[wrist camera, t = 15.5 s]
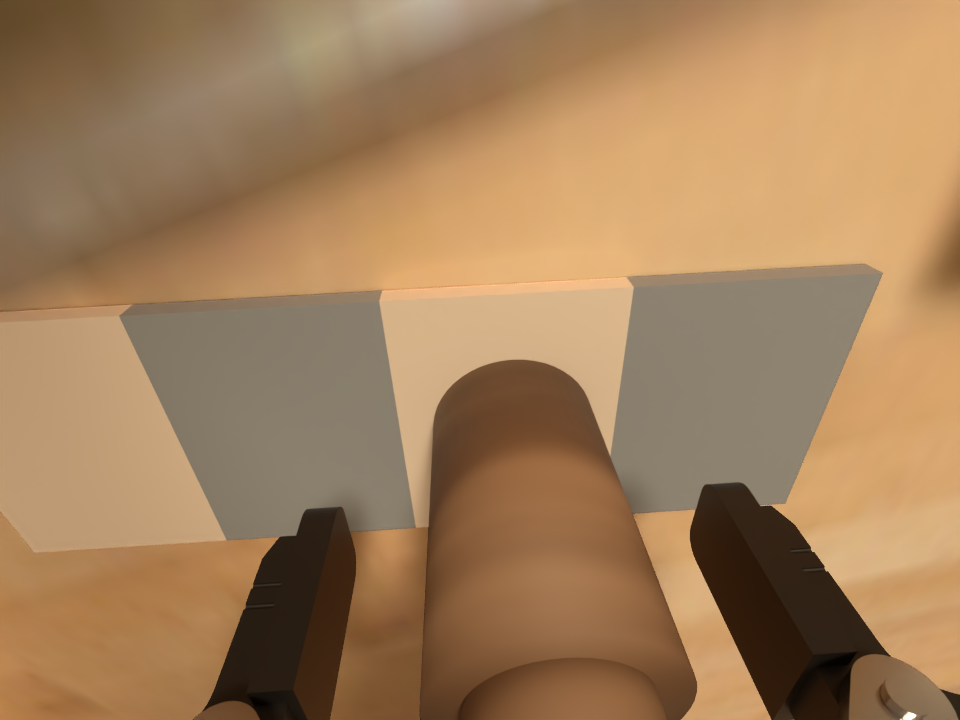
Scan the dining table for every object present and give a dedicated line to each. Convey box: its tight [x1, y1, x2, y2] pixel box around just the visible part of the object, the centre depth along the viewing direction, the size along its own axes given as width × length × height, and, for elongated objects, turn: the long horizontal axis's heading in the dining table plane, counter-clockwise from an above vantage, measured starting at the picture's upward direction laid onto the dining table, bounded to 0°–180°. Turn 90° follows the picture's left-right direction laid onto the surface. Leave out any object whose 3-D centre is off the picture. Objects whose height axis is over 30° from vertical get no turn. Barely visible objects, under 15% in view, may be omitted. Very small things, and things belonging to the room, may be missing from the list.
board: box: [0, 264, 883, 553], centre depth 14 cm, size 8×24×1 cm, turn 92°
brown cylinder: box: [420, 360, 697, 720], centre depth 10 cm, size 4×4×9 cm
